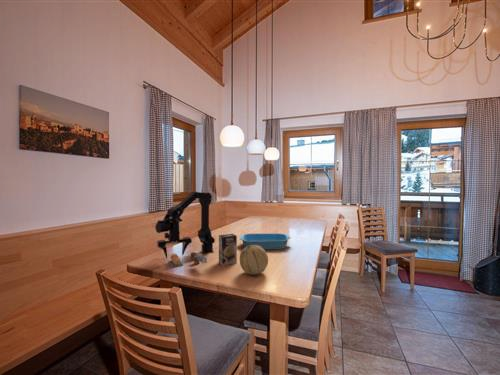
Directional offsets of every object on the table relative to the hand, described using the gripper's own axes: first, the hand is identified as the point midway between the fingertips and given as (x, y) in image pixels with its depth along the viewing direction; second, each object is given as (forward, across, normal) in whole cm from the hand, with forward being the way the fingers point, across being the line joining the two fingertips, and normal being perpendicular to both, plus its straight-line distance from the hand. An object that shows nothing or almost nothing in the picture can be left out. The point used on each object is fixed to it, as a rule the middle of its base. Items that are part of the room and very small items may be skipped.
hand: (174, 256), depth 137 cm
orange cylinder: (+3, 0, +3) cm, 4 cm away
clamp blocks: (+4, -10, +5) cm, 12 cm away
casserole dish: (+4, -64, -1) cm, 64 cm away
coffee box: (+4, -26, +16) cm, 31 cm away
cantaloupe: (+4, -31, +37) cm, 49 cm away
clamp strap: (-1, -10, +17) cm, 20 cm away
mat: (+4, 0, +3) cm, 4 cm away
